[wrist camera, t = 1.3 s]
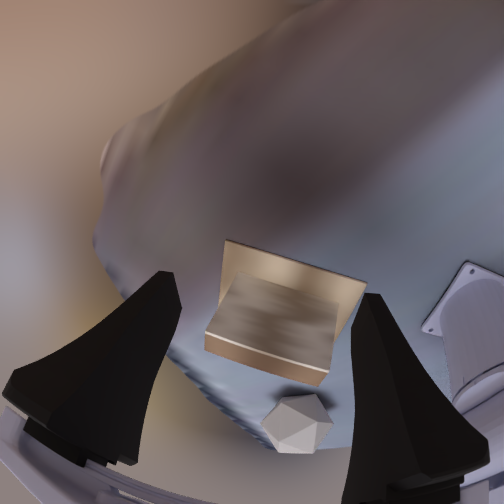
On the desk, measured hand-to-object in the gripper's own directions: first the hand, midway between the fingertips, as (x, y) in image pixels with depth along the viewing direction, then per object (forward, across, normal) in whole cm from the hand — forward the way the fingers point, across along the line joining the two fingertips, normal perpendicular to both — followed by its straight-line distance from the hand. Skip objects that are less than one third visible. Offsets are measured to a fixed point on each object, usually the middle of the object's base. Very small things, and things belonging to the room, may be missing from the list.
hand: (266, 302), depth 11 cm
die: (+9, -5, +29) cm, 31 cm away
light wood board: (+10, 0, +14) cm, 18 cm away
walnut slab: (+10, -1, +10) cm, 14 cm away
